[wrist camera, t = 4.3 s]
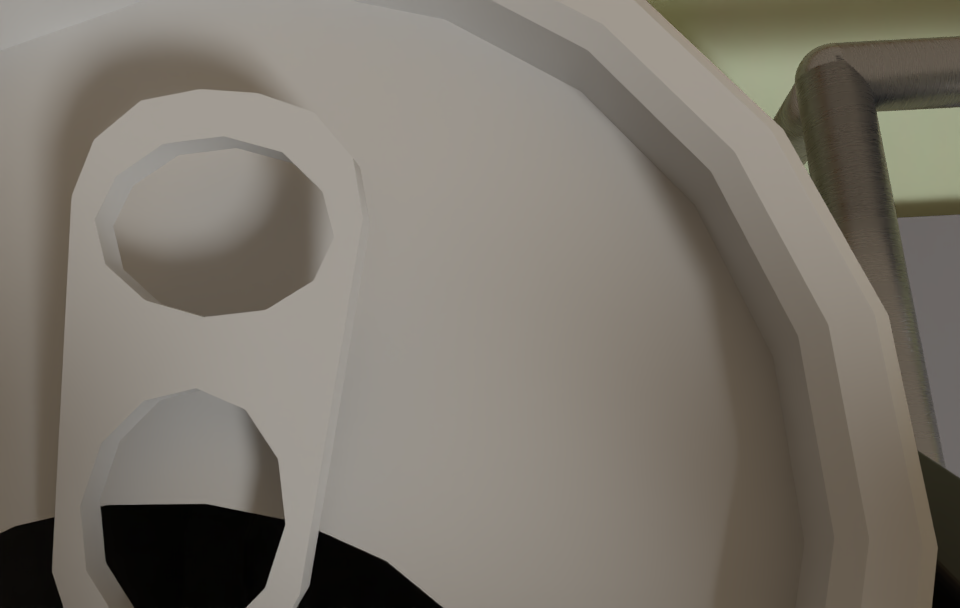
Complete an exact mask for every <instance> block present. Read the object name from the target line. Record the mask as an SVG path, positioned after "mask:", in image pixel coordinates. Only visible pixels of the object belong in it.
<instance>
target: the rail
mask: <svg viewBox="0 0 960 608" xmlns="http://www.w3.org/2000/svg"><path fill="white" fill-rule="evenodd" d="M953 107H960V36H955V37H937V38H918V39H900V40H881V41H863V42H844V43H830V44H825V45H822V46H819V47H817V48H815V49H813V50H812V51H811V52H809V53H808V54H807V55H806V56H805V57H804V58H803V60H802V61H801V63H800V64H799V66H798V69H797V71H796V75H795V84H794V85H793V87H792V89H791V91H790V92H789V94H788V96H787V97H786V99H785V101H784V102H783V104H782V106H781V107H780V109H779V111H778V112H777V114H776V116H775V117H774V119H773V120H774V121H775V122H776V123H777V124H778V125H779V126H780V127H781V128H782V129H783V130H784V132H785V133H786V135H787V137H788V139H789V140H790V142H791V144H792V146H793V147H794V149H795V151H796V153H797V154H798V156H799V158H800V160H801V162H802V163H803V165H805V163H806V162H807V161H808V167H809V173H810V177H811V179H812V181H813V183H814V184H815V186H816V188H817V190H818V192H819V193H820V195H821V197H822V199H823V200H824V202H825V204H826V206H827V207H828V209H829V211H830V213H831V214H832V216H833V218H834V220H835V222H836V223H837V225H838V227H839V229H840V230H841V232H842V234H843V236H844V237H845V239H846V241H847V243H848V245H849V246H850V248H851V250H852V252H853V253H854V255H855V257H856V259H857V260H858V262H859V264H860V266H861V267H862V269H863V271H864V273H865V275H866V276H867V278H868V280H869V282H870V283H871V285H872V287H873V289H874V290H875V292H876V294H877V296H878V297H879V299H880V301H881V303H882V305H883V306H884V308H885V310H886V312H887V313H888V315H889V320H890V324H891V329H892V334H893V338H894V343H895V348H896V353H897V357H898V362H899V367H900V371H901V376H902V381H903V386H904V390H905V395H906V400H907V404H908V409H909V414H910V418H911V423H912V428H913V433H914V437H915V442H916V447H917V450H918V451H920V452H921V453H923V454H924V455H926V456H927V457H929V458H930V459H932V460H933V461H935V462H936V463H938V464H939V465H941V466H942V467H944V468H946V467H945V461H944V456H943V451H942V446H941V441H940V436H939V431H938V425H937V420H936V415H935V410H934V405H933V400H932V395H931V389H930V384H929V379H928V374H927V369H926V364H925V359H924V354H923V348H922V343H921V338H920V333H919V328H918V323H917V318H916V312H915V307H914V302H913V297H912V292H911V287H910V282H909V276H908V271H907V266H906V261H905V256H904V251H903V246H902V241H901V235H900V230H899V225H898V220H897V215H896V210H895V205H894V199H893V194H892V189H891V184H890V179H889V174H888V169H887V163H886V158H885V153H884V148H883V143H882V138H881V133H880V127H879V122H878V117H877V112H878V111H896V110H915V109H934V108H953Z"/></svg>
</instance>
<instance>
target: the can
mask: <svg viewBox="0 0 960 608" xmlns="http://www.w3.org/2000/svg"><path fill="white" fill-rule="evenodd" d="M937 551H938V546H937V541H936V536H935V531H934V527H933V522H932V517H931V513H930V508H929V503H928V498H927V494H926V489H925V484H924V480H923V475H922V470H921V466H920V461H919V456H918V451H917V447H916V442H915V437H914V433H913V428H912V423H911V418H910V414H909V409H908V404H907V400H906V395H905V390H904V386H903V381H902V376H901V371H900V367H899V362H898V357H897V353H896V348H895V343H894V338H893V334H892V329H891V324H890V320H889V315H888V313H887V312H886V310H885V308H884V306H883V305H882V303H881V301H880V299H879V297H878V296H877V294H876V292H875V290H874V289H873V287H872V285H871V283H870V282H869V280H868V278H867V276H866V275H865V273H864V271H863V269H862V267H861V266H860V264H859V262H858V260H857V259H856V257H855V255H854V253H853V252H852V250H851V248H850V246H849V245H848V243H847V241H846V239H845V237H844V236H843V234H842V232H841V230H840V229H839V227H838V225H837V223H836V222H835V220H834V218H833V216H832V214H831V213H830V211H829V209H828V207H827V206H826V204H825V202H824V200H823V199H822V197H821V195H820V193H819V192H818V190H817V188H816V186H815V184H814V183H813V181H812V179H811V177H810V176H809V174H808V172H807V170H806V169H805V167H804V165H803V163H802V162H801V160H800V158H799V156H798V154H797V153H796V151H795V149H794V147H793V146H792V144H791V142H790V140H789V139H788V137H787V135H786V133H785V132H784V130H783V129H782V128H781V127H780V126H779V125H778V124H777V123H776V122H775V121H774V120H773V119H772V118H771V117H770V116H768V115H767V114H766V113H765V112H764V111H763V110H762V109H761V108H760V107H759V106H758V105H757V104H756V103H755V102H754V101H752V100H751V99H750V98H749V97H748V96H747V95H746V94H745V93H744V92H743V91H742V90H741V89H740V88H739V87H738V86H737V85H735V84H734V83H733V82H732V81H731V80H730V79H729V78H728V77H727V76H726V75H725V74H724V73H723V72H722V71H721V70H720V69H718V68H717V67H716V66H715V65H714V64H713V63H712V62H711V61H710V60H709V59H708V58H707V57H706V56H705V55H704V54H702V53H701V52H700V51H699V50H698V49H697V48H696V47H695V46H694V45H693V44H692V43H691V42H690V41H689V40H688V39H687V38H685V37H684V36H683V35H682V34H681V33H680V32H679V31H678V30H677V29H676V28H675V27H674V26H673V25H672V24H671V23H670V22H668V21H667V20H666V19H665V18H664V17H663V16H662V15H661V14H660V13H659V12H658V11H657V10H656V9H655V8H654V7H653V6H651V5H650V4H649V3H648V2H647V1H646V0H0V608H932V601H933V591H934V581H935V571H936V561H937Z"/></svg>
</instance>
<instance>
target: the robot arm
mask: <svg viewBox="0 0 960 608" xmlns="http://www.w3.org/2000/svg"><path fill="white" fill-rule="evenodd" d="M917 451H918V450H917ZM918 456H919V461H920V466H921V470H922V475H923V480H924V484H925V489H926V494H927V498H928V503H929V508H930V513H931V517H932V522H933V527H934V531H935V536H936V541H937V546H938V551H937V561H936V571H935V581H934V591H933V601H932V608H960V478H959V477H958V476H956V475H955V474H953V473H952V472H950V471H949V470H947V469H946V468H944V467H942V466H941V465H939V464H938V463H936V462H935V461H933V460H932V459H930V458H929V457H927V456H926V455H924V454H923V453H921V452H920V451H918Z"/></svg>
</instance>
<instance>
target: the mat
mask: <svg viewBox="0 0 960 608" xmlns="http://www.w3.org/2000/svg"><path fill="white" fill-rule="evenodd" d="M897 220H898V225H899V230H900V235H901V241H902V246H903V251H904V256H905V261H906V266H907V271H908V276H909V282H910V287H911V292H912V297H913V302H914V307H915V312H916V318H917V323H918V328H919V333H920V338H921V343H922V348H923V354H924V359H925V364H926V369H927V374H928V379H929V384H930V389H931V395H932V400H933V405H934V410H935V415H936V420H937V425H938V431H939V436H940V441H941V446H942V451H943V456H944V461H945V467H946V469H947V470H949V471H950V472H952V473H953V474H955V475H956V476H958V477H959V478H960V215H942V216H923V217H904V218H897Z"/></svg>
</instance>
